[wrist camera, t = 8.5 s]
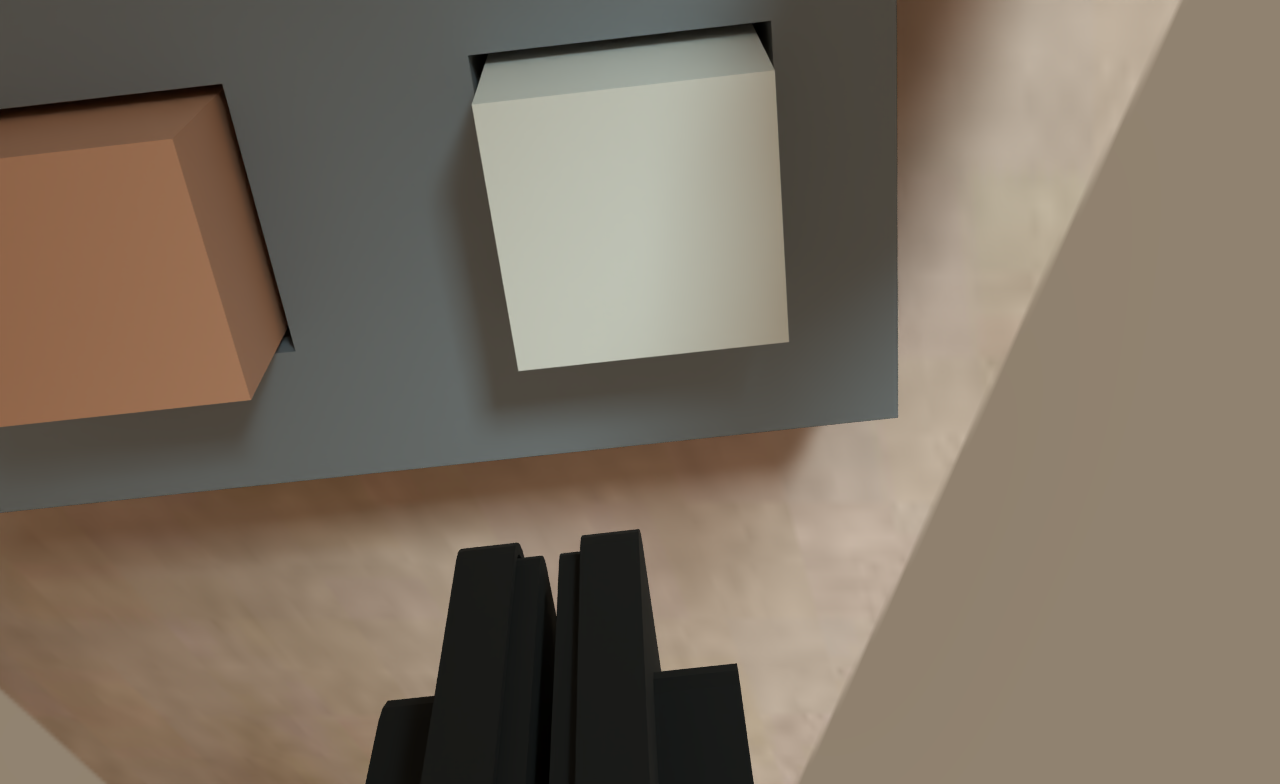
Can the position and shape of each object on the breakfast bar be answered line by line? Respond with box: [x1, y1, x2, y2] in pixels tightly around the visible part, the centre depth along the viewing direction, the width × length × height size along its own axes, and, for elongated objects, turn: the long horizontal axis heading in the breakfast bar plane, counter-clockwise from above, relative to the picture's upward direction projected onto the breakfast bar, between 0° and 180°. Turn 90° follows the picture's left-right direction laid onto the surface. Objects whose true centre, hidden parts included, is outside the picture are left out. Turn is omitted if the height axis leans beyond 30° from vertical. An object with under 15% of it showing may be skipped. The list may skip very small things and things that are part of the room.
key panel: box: [0, 0, 898, 513], centre depth 30 cm, size 14×24×5 cm, turn 96°
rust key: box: [0, 84, 289, 427], centre depth 28 cm, size 6×6×5 cm
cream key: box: [472, 23, 789, 371], centre depth 28 cm, size 6×6×5 cm
